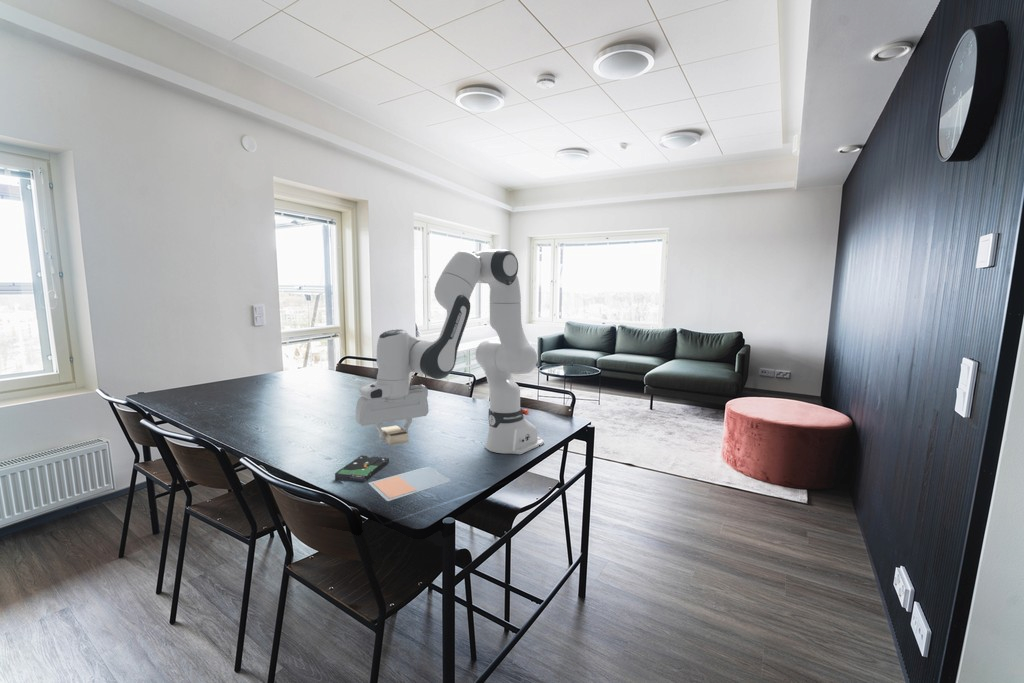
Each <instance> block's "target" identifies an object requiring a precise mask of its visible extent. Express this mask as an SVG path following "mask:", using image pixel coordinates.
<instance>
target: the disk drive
mask: <svg viewBox="0 0 1024 683" xmlns="http://www.w3.org/2000/svg"><path fill="white" fill-rule="evenodd" d="M388 464H390V458H389V457H382V456H380V457H379V456H371V457H369V456H368V455H360V456H358V457H356V458H355V459H354V460H353V461H351V462H350V463H348V464H347V465H345V466H344V467H342V468H340V469H339V470H338V471H336V472H335V473H334V480H335V481H338V480H340V481H339V482H345V480H346V481H347V480H349V481H357V482H364V483H365V482H367V481H368V480H369V479H371V478H372V477H374V475H376V474H377V473H378V472H379V471H380V470H382V469H383V468H385V467H386V466H387V465H388Z"/></svg>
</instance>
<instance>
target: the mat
mask: <svg viewBox="0 0 1024 683" xmlns="http://www.w3.org/2000/svg"><path fill="white" fill-rule="evenodd" d="M451 482H452V480H451V479H449V478H448V477H447V476H444V475H443V474H442V473H440V472H438V470H436V469H434V468H433V467H431V466H430V465H428V466H425V467H421V468H416V469H413V470H410V471H409V470H408V471H406V472H402V473H400V474H399V473H398V474H395V475H391V476H388V477H385V478H381V479H378V480H374V481H370V482H367V484H368V485H369V486H370V487H371V488H372V489H373V490H375V491H376V492H377V493H378V494H379V495H380V496H381V497H382V498H383V499H384V500H385V501H386V502H390V501H393V500H397V499H401V498H402V497H405V496H410V495H412V494H416V493H419V492H422V491H425V490H428V489H432V488H435V487H438V486H442V485H444V484H448V483H451Z"/></svg>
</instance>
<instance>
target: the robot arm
mask: <svg viewBox="0 0 1024 683" xmlns="http://www.w3.org/2000/svg"><path fill="white" fill-rule="evenodd" d="M518 272H519V262H518V259H517V257H516V255H515V253H514V252H513V251H511V250H508V249H503V248H500V249H495V248H494V249H489V248H488V249H484V250H479V251H469V250H460V251H457V252H456V253H454V255H453V256H452V257H451V259H450V260H449V261H448V263H447V264H446V266H444V269H443V271H442V272H441V274H440V276H439V277H438V279H437V282H436V284H435V287H434V291H433V292H434V296H435V300H436V301H437V303H438V304H439V305H440V306H441V307H442V308H443V309H445V310H446V317H445V321H444V323H443V326H442V329H441V332H440V334H439V337H438V338H437V339H436V340H434V341H428V340H421V339H420V338H417V337H415V336H413V335H411V334H409V333H408V332H407V331H406V330H405V329H391V330H387V331H384V332H382V333H381V334H380V335H379V336H378V338H377V345H376V365H377V370H378V371H377V374H376V381H374V382H372V383H369V384H366V385H364V386H362V387H360V388H359V395H360V397H359V398H357V399H358V400H357V401H356V408H355V421H356V423H357V424H358V425H359V426H361V427H364V426H365V427H366V426H370V425H374V426H375V428H376V429H377V431H378V435H379V438H380V439H382V438H386V431H385V430H382V429H381V428H383V423H390V422H398V421H402V420H404V421H405V423H404V425H403V426H401V427H400V428H401V429H403V430H404V431H406V432H407V433H408V434H409V428H410V426H411V424H412V422H413V419H414V418H415V419H416V418H420V417H422V418H423V417H426V416H427V415H428V413H429V411H430V409H429V401H428V396H429V391H428V388H427V386H425V385H423V384H418V385H410V373H417V374H420V375H425V376H427V377H429V378H432V379H435V380H443V379H444V378H447V377H448V376H449V375H450V374H451V373H452V371H453V370H454V368H455V366H456V362H457V355H458V350H459V345H460V343H461V340H462V337H463V335H464V331H465V328H466V326H467V322H468V320H469V316H470V311H471V301H470V298H471V296H472V294H473V291H474V290H475V287H476V285H477V283H479V284H488V285H489V289H490V290H489V324H490V326H491V327H492V329H493V330H495V333H496V334H497V335H498V338H499V340H496V339H492V340H491V339H490V340H484V341H482V342H480V343H479V344H478V346H477V348H476V350H475V359H476V362H477V364H479V366H480V367H481V369H482V371H483V373H484V374H485V377H486V381H487V383H488V389H489V408H488V417H487V418H488V431H487V438H486V441H485V445H484V448H485V449H486V450H487V451H489V452H493V453H498V454H512V455H522V454H524V453H526V452H529V451H531V450H533V449H535V448H538V447H540V446H542V445H544V444H545V441H544V439H542V438H541V437H539V435H538V430H537V427H536V426H535V425H534V424H533V423H531V422H530V421H528V420H527V419H526V418H525V417H524V415H525V416H529V414H530V411H529V409H526V408H523V409H522V408H521V388H520V386H519V385H518V384H517V382H516V381H515V380H514V378H513V377H512V374H514V375H526V374H531V373H532V372H533V371H534V370H535V368H536V366H537V362H538V355H537V354H538V353H537V352H536V350H535V348H534V347H533V346H532V345H531V344H530V342H529V341H528V339H527V337H526V335H525V332H524V328H523V325H522V304H521V302H522V301H521V300H522V297H521V286H520V282H519V277H518V276H517V275H518ZM543 443H544V444H543ZM539 445H540V446H539Z"/></svg>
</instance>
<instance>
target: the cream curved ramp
mask: <svg viewBox="0 0 1024 683" xmlns="http://www.w3.org/2000/svg"><path fill="white" fill-rule="evenodd" d="M381 429H382V430H385V431H386V438H381V439H383V440H384V441H385V442H386V443H387V444H388V445H390V446H395V445H396V446H397V445H400V444H405V443H409V432H408V433H407V432H406V431H404V430H403V429H401V427H400V426H398V425H397V424H395V425H390V426H382V427H381Z"/></svg>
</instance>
